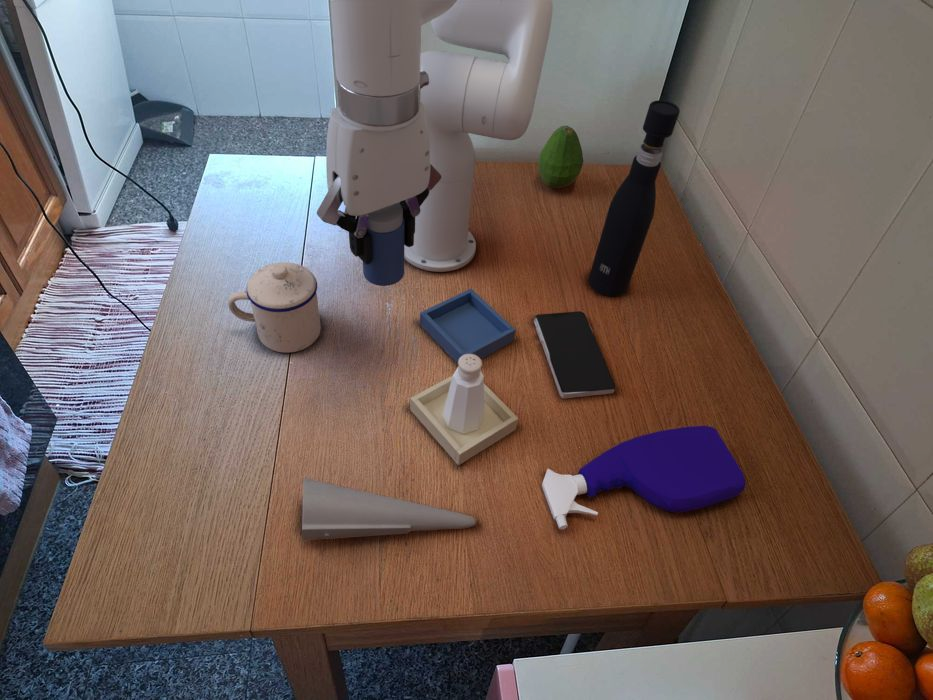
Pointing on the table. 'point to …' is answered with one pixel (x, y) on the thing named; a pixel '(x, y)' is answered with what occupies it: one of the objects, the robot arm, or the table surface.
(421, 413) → the cream tray
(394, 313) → the table surface
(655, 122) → the black bottle
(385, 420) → the table surface
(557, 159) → the avocado
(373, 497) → the grey tapered cone
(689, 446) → the spray bottle
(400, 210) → the pepper shaker
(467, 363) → the salt shaker
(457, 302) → the blue tray
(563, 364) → the smartphone
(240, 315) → the teacup with lid
